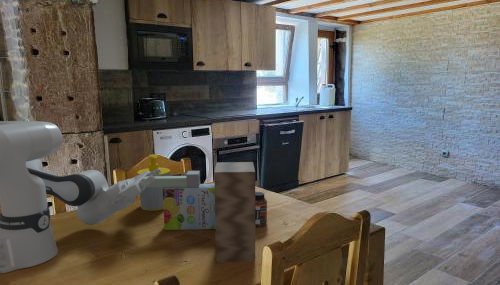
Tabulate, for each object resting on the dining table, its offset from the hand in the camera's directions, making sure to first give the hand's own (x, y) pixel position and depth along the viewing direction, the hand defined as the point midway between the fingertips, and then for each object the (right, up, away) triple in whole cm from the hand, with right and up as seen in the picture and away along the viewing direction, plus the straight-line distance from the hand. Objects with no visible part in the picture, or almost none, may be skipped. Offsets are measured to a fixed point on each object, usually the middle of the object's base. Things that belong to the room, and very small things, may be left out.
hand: (157, 173), depth 122 cm
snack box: (+13, -19, +4) cm, 23 cm away
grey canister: (-7, -16, +25) cm, 31 cm away
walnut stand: (+27, -22, -15) cm, 38 cm away
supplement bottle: (+35, -19, +6) cm, 40 cm away
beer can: (+6, -14, +33) cm, 36 cm away
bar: (+4, -4, +1) cm, 6 cm away
